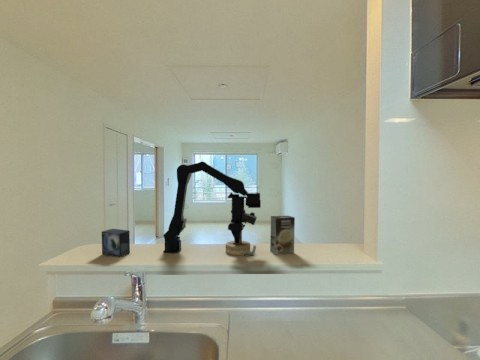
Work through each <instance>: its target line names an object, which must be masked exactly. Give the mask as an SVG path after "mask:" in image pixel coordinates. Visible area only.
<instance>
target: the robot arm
mask: <svg viewBox="0 0 480 360" xmlns="http://www.w3.org/2000/svg"><path fill="white" fill-rule="evenodd" d="M198 172H203V173H206V174H207V175H209V176H210V177H212V178H214V179H216V180H218V181H219V182H221V183H222V184H224V185H225V186H226V187H228V188H229V189H230V190H231V191H232V192H230V194H229V195H227V199H231V210H230V213H231V219H230V222H229V224H228V225H227V230H228V231H230V232H231V234H232V236H233V240H234V239H235V241H236V243H239V238H240V232H241V231H242V232H243V231H244V229H245V227H246V224H247V223H249V224H250V225H252V226H254V225H255V223H256V220H257V216H256V214H255V212H253V211H251V212H250V213H247V212H246V209H245V206H246V207H248V209H261V203H262V202H261V193H260V192H255V193H253V192H250V193H249V192H248V190H247V189H246V188H245V183H244V182H243V180H240V179H238V178H234V177H231V176H229V175H228V174H226V173H223V172H222V171H220V170H218V169H217V168H215V167H213V166H211V165H210V164H208V163H207V162H205V161H200V162H196V163H191V164H180V165H179V166H177V168H176V181H177V189H176V196H175V202H174V203H175V204H174V211H173V215H172V218H171V220H170V223H169V226H168V230H167V231H166V232H165V233H164V234H163V238H164V250H163V253H178V252H179V251H181V250H182V240H181V236H180V235H181V233H182V232H184V229H185V228H186V226H187V225H186V223H187V218H184V210H185V205H186V198H187V192H188V191H187V189H188V184H189V182H190V180H191V178H192V174H195V173H198ZM240 195H241V196H240Z"/></svg>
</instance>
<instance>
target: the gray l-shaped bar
mask: <svg viewBox="0 0 480 360" xmlns="http://www.w3.org/2000/svg"><path fill="white" fill-rule="evenodd" d="M251 251H252V252H251V253H247V254H243V256H244V257H254V254H255V251H256V245H253V248H252V250H251Z"/></svg>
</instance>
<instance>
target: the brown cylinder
mask: <svg viewBox="0 0 480 360" xmlns="http://www.w3.org/2000/svg"><path fill="white" fill-rule="evenodd" d="M233 241H234V245H242V241H243V230H242V231H241V232H240V238H239V243H236V241H235V239H234V238H233Z"/></svg>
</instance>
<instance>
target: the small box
mask: <svg viewBox="0 0 480 360" xmlns="http://www.w3.org/2000/svg"><path fill="white" fill-rule="evenodd" d="M130 240H131V239H130V230H129V229H128V230H127V229H121V228H120V229H117V228H110V229H106V230H102V231H101V250H102V251H101V255H102V256H103V255H104V256H109V257H115V258H122V257H124V255H125V256H127V255H130V254H131V250H130V249H131V247H130V245H131V244H130V242H131V241H130ZM129 253H130V254H129Z"/></svg>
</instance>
